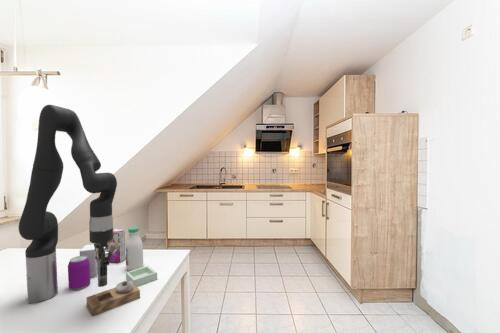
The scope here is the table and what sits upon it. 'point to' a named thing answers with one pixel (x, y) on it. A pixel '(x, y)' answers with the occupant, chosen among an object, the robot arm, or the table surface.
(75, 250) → the table surface
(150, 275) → the tray
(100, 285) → the pin
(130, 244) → the milk bottle
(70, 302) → the table surface
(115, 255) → the candy bar box
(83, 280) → the beverage can
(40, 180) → the robot arm
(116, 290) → the block
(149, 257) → the table surface
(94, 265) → the small box
